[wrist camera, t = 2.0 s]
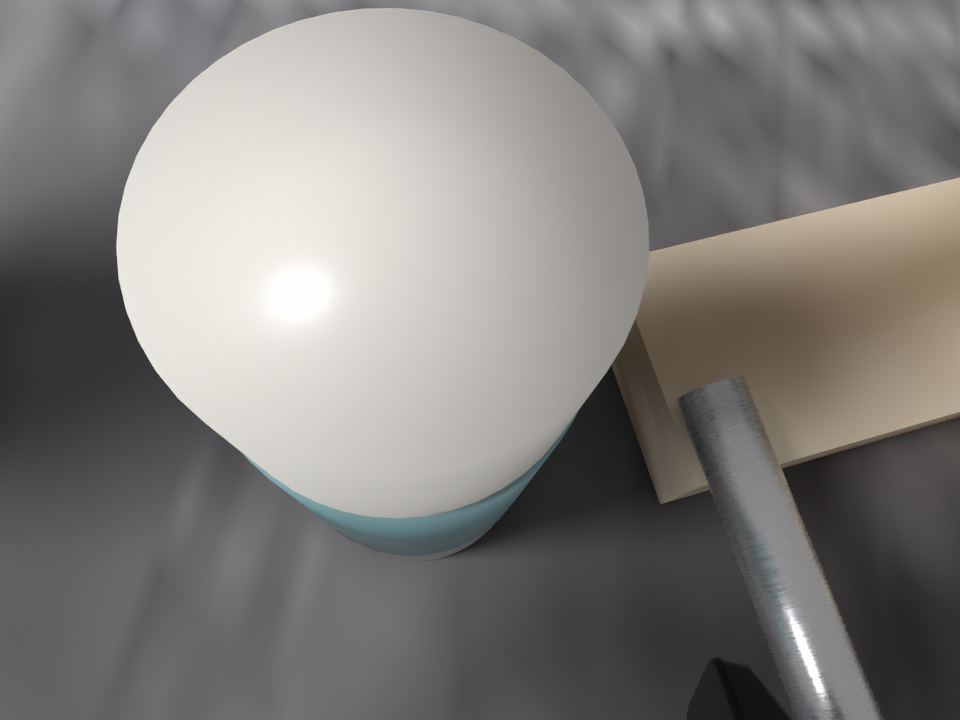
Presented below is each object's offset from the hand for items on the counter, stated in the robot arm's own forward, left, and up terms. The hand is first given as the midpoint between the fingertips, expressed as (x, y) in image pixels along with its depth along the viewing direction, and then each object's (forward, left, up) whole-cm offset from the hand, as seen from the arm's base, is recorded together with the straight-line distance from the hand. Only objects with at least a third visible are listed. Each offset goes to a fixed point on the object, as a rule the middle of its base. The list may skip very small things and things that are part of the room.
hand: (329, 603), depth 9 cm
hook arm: (-5, -9, -8) cm, 12 cm away
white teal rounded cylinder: (+3, -2, -11) cm, 11 cm away
